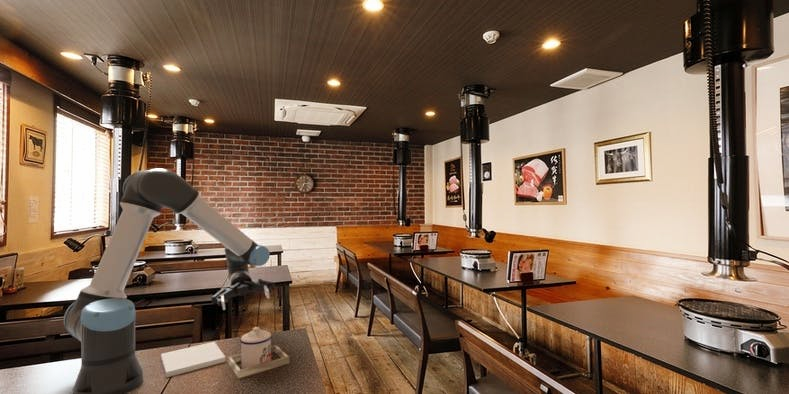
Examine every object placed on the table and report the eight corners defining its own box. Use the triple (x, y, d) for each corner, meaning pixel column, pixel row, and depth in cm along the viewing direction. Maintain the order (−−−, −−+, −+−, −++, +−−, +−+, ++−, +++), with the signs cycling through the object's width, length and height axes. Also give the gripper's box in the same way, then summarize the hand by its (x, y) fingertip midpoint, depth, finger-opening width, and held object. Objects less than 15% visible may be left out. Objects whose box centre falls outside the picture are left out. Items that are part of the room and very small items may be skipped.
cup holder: (228, 363, 113) (228, 357, 113) (275, 350, 122) (275, 344, 122) (238, 378, 103) (238, 371, 103) (289, 363, 112) (289, 356, 113)
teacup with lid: (264, 372, 107) (264, 333, 107) (235, 372, 107) (234, 333, 107) (279, 354, 119) (279, 319, 119) (252, 354, 119) (252, 319, 119)
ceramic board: (160, 358, 117) (160, 353, 117) (214, 345, 127) (214, 341, 127) (166, 377, 104) (166, 372, 104) (225, 361, 114) (225, 357, 114)
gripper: (276, 284, 141) (286, 301, 123) (205, 301, 130) (205, 322, 111) (273, 266, 141) (284, 279, 122) (202, 281, 129) (201, 299, 110)
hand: (246, 300), depth 116 cm, fingers open, 13 cm apart
